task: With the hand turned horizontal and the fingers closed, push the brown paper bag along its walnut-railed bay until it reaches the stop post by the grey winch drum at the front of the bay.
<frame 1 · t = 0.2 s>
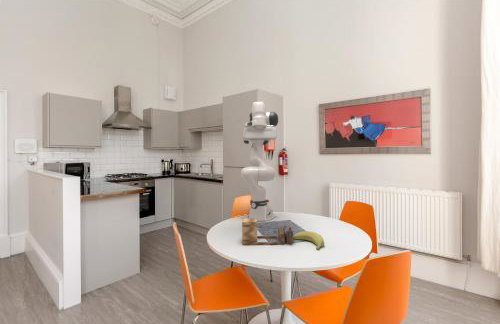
hand: (260, 146, 156), 53 cm above the table, tool tilted 20°, fingers open, 8 cm apart
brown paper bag: (249, 230, 146), point 6 cm above the table, slide at 0.0 cm
bay: (260, 241, 147), on the table
banana: (309, 244, 142), on the table
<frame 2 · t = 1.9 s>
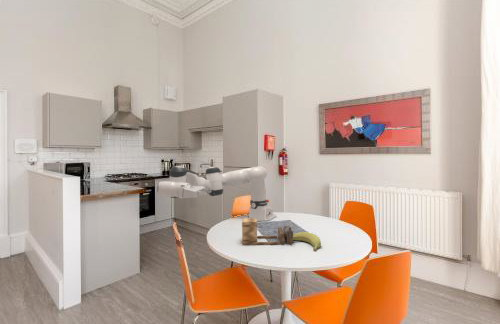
hand: (208, 192, 148), 27 cm above the table, tool horizontal, fingers open, 8 cm apart
banana: (306, 245, 141), on the table
everything else where it was.
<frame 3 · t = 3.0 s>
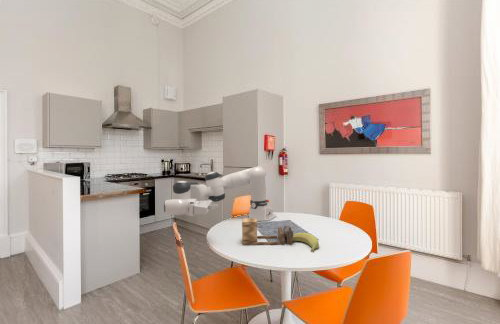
hand: (218, 206, 146), 20 cm above the table, tool horizontal, fingers closed
banana: (304, 246, 140), on the table, touching bay
everything else where it was.
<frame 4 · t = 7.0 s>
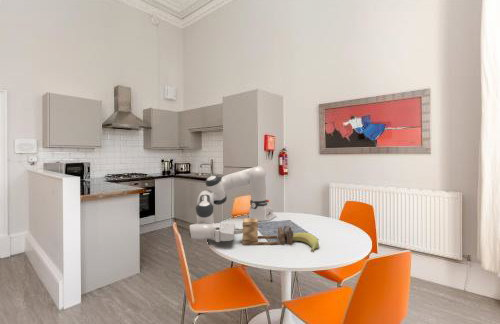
hand: (242, 231, 146), 6 cm above the table, tool horizontal, fingers closed, pressing on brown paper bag
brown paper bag: (250, 230, 146), point 6 cm above the table, slide at 0.3 cm, touching gripper
everything else where it was.
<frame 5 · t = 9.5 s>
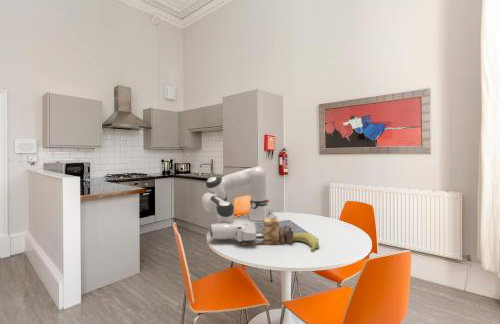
hand: (263, 230, 146), 6 cm above the table, tool horizontal, fingers closed, pressing on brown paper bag
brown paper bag: (271, 230, 147), point 6 cm above the table, slide at 12.0 cm, touching gripper
everything else where it was.
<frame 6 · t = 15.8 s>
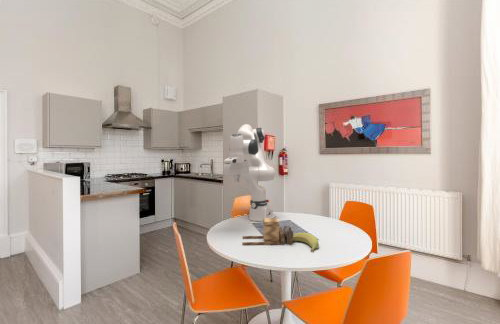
hand: (237, 182, 165), 31 cm above the table, tool pointing down, fingers closed
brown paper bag: (271, 230, 147), point 6 cm above the table, slide at 12.0 cm
everything else where it was.
at the end: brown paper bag slide at 12.0 cm; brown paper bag 0.4 cm from the target spot, resting in bay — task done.
